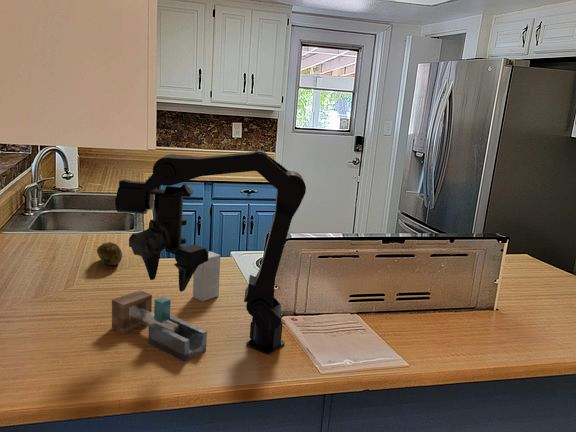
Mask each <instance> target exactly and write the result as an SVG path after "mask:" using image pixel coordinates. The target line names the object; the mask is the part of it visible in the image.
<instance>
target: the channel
mask: <svg viewBox="0 0 576 432" xmlns="http://www.w3.org/2000/svg"><path fill="white" fill-rule="evenodd" d="M168 320H169V321H171V322H174V323H176V324H178V325H179V327H180V330H179V333H178V334H176V333H174V332H171V331H169V330H167V329H165V328H163V327H161V326H158V325H156V324H154V323H152V324H150V325H149V327H148V340H147V341H148V345H150V346H152V347H154V348H156V349H158V350H160V351H162V352H164V353H166V354H167V355H170V356H172V357H173V358H176V359H178V360H180V361H182V362H184V363H185V362H187V361H189V360H190V359H192V358H195V357H196V356H199V355H200V354H201V353H204V352H205V351H207V342H208V341H207V338H208V331H207V330H205V329H202V328H200V327H198V326H196V325H193V324H192V323H190V322H187V321H184V320H183V319H180V318H178V317H175V316H174V315H170V319H168Z"/></svg>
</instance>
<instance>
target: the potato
mask: <svg viewBox="0 0 576 432" xmlns="http://www.w3.org/2000/svg"><path fill="white" fill-rule="evenodd" d="M96 254H97V256H98V258H99V259H100V260H101V261H102V263H103V264H105V265H110V266H111V265H112V266H115V265H118V264H120V263H121V261H122V258H123V252H122V250H121V247H120V246H119V245H118V244H117V243H113V242H108V241H107V242H104V243H102V244H101V245H99V246H98V247H97V249H96Z"/></svg>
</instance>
